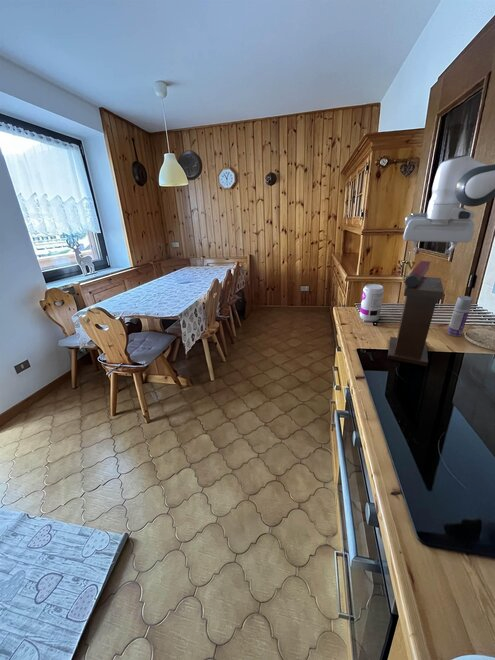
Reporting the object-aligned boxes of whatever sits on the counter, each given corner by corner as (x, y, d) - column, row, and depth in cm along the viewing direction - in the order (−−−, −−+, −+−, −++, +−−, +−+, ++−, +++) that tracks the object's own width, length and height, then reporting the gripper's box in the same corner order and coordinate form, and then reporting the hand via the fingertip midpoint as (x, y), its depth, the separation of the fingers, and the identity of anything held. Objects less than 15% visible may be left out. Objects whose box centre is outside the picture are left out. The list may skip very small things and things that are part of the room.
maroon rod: (418, 268, 103) (420, 259, 101) (429, 270, 101) (431, 260, 99) (403, 286, 88) (406, 275, 86) (416, 288, 86) (419, 276, 84)
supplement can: (358, 320, 126) (362, 288, 119) (361, 313, 132) (365, 282, 125) (377, 323, 122) (383, 290, 116) (379, 315, 129) (385, 284, 122)
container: (457, 330, 113) (468, 295, 106) (463, 336, 109) (476, 300, 102) (444, 330, 113) (455, 295, 106) (450, 336, 109) (462, 300, 102)
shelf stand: (389, 340, 110) (402, 275, 98) (425, 346, 104) (444, 278, 92) (387, 358, 99) (401, 288, 87) (426, 366, 94) (448, 292, 81)
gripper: (406, 214, 96) (398, 254, 103) (481, 213, 88) (467, 258, 94) (406, 212, 101) (399, 251, 107) (476, 211, 93) (463, 253, 99)
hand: (431, 254), depth 101 cm, fingers open, 8 cm apart
